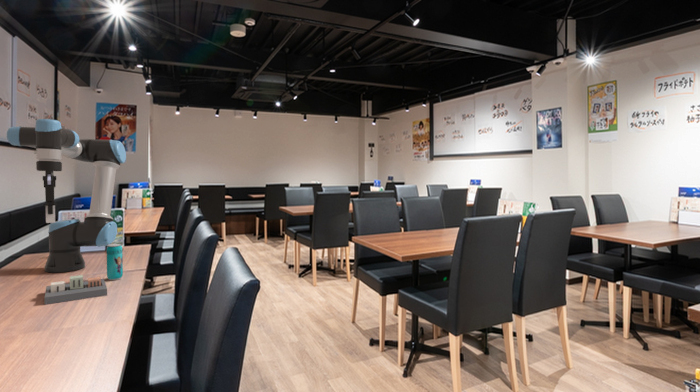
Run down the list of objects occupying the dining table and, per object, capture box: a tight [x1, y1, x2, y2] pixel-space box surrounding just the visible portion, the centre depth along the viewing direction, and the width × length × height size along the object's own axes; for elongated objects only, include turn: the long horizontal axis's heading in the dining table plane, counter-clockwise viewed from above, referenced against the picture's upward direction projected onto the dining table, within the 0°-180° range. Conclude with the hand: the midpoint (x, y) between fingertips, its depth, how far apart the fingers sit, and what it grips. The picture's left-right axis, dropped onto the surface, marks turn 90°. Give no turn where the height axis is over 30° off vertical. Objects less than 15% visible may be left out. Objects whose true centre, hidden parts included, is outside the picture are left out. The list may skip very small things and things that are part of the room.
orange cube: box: [87, 276, 102, 288], centre depth 141 cm, size 4×4×4 cm
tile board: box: [43, 278, 108, 305], centre depth 138 cm, size 16×18×2 cm
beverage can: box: [106, 243, 124, 282], centre depth 158 cm, size 6×6×15 cm
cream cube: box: [50, 280, 66, 293], centre depth 135 cm, size 4×4×4 cm
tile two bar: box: [69, 274, 84, 290], centre depth 138 cm, size 4×4×4 cm
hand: (50, 222), depth 141 cm, fingers closed
